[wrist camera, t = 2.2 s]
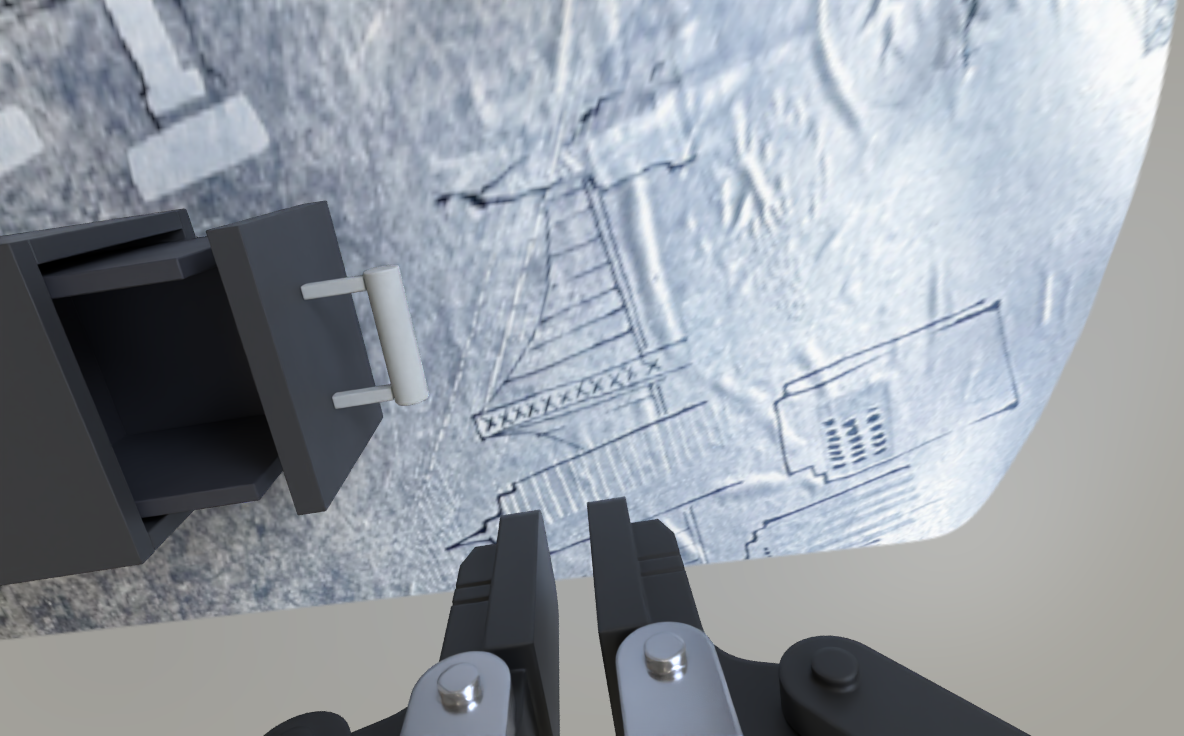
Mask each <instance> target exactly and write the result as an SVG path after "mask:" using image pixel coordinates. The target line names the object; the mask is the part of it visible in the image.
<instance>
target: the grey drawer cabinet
mask: <svg viewBox="0 0 1184 736" xmlns="http://www.w3.org/2000/svg"><path fill="white" fill-rule="evenodd" d="M192 238H196V237H195V234H194V231H193V228H192V225H191V222H190V219H189V216H188V213H187V210H186V209H178V210H171V211H165V212H158V213H151V214H145V215H138V216H132V217H125V218H118V219H112V220H105V221H99V222H92V223H85V224H79V225H72V226H65V227H59V228H52V229H46V230H39V231H32V232H26V233H19V234H12V235H6V236H0V586H2V585H8V584H15V583H22V582H28V581H35V580H41V579H48V578H54V577H61V576H67V575H74V574H80V573H87V572H94V571H100V570H107V569H113V568H120V567H126V566H133V565H139V564H143V563H144V562H145V561H146V560H147V559H148V558H149V557H150V556H151V555H152V554H153V553H154V552H155V550H156V549H157V548H158V547H159V546H160V545H161V544H162V543H163V542H164V541H165V540H166V539H167V538H168V537H169V536H170V535H171V534H172V533H173V532H174V531H175V529H176V528H177V527H178V526H179V525H180V524H181V523H182V522H183V521H184V520H185V519H186V518H187V517H188V516H189V515H190V514H191V513H192V512H193V511H194V510H191V511H185V512H178V513H171V514H165V515H158V516H152V517H145V518H141V516H140V514H139V511H138V509H137V507H136V504H135V502H134V499H133V497H132V494H131V492H130V489H129V487H128V485H127V482H126V480H125V477H124V475H123V472H122V470H121V467H120V465H119V463H118V460H117V458H116V455H115V453H114V450H113V448H112V446H111V443H110V441H109V438H108V436H107V433H106V431H105V428H104V426H103V424H102V421H101V419H100V416H99V414H98V411H97V409H96V406H95V404H94V402H93V399H92V397H91V394H90V392H89V389H88V387H87V384H86V382H85V380H84V377H83V375H82V372H81V370H80V367H79V365H78V363H77V360H76V358H75V355H74V353H73V350H72V348H71V345H70V343H69V341H68V338H67V336H66V333H65V331H64V328H63V326H62V323H61V321H60V319H59V316H58V314H57V311H56V309H55V306H54V304H53V302H52V299H51V297H50V294H49V292H48V289H47V287H46V284H45V282H44V280H43V277H42V275H41V272H40V270H39V267H38V265H39V264H43V263H47V262H51V261H55V260H59V259H63V258H67V257H73V256H80V255H86V254H93V253H100V252H106V251H113V250H120V249H126V248H133V247H139V246H146V245H153V244H159V243H166V242H172V241H179V240H186V239H192Z"/></svg>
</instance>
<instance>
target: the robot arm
mask: <svg viewBox="0 0 1184 736" xmlns="http://www.w3.org/2000/svg"><path fill="white" fill-rule="evenodd" d="M587 509H588V521H589V532H590V543H591V554H592V566H593V577H594V588H595V599H596V610H597V621H598V633H599V639H600V645H601V651H602V657H603V662H604V668H605V674H606V679H607V686H608V692H609V697H610V703H611V709H612V715H613V721H614V726H615V732H616V736H1031V735H1029V734H1027V733H1025V732H1023V731H1021V730H1020V729H1018V728H1016V727H1014V726H1012V725H1011V724H1009V723H1007V722H1005V721H1003V720H1001V719H1000V718H998V717H996V716H994V715H992V714H990V713H989V712H987V711H985V710H983V709H981V708H979V707H977V706H976V705H974V704H972V703H970V702H968V701H966V700H965V699H963V698H961V697H959V696H957V695H956V694H954V693H952V692H950V691H948V690H946V689H945V688H942V687H941V686H939V685H937V684H936V683H934V682H932V681H930V680H928V679H926V678H924V677H922V676H921V675H919V674H917V673H915V672H913V671H912V670H910V669H908V668H906V667H904V666H903V665H901V664H899V663H897V662H895V661H893V660H892V659H890V658H888V657H886V656H884V655H882V654H881V653H879V652H877V651H875V650H873V649H871V648H870V647H868V646H866V645H864V644H862V643H860V642H857V641H854V640H851V639H848V638H844V637H838V636H816V637H810V638H807V639H803V640H802V641H799V642H797V643H795V644H794V645H792V646H791V647H790V648H789V649H788V650H787V651H786V652H785V653H784V655H783V656H782V658H781V660H780V663H779V664H776V663H767V662H757V661H750V660H745V659H741V658H738V657H735V656H733V655H730V654H728V653H726V652H724V651H723V650H721V649H719V648H718V647H717V646H715V645H714V644H713V642H712V641H711V640H710V638H709V637H708V636H707V635H706V634H705V633H704V630H703V628H702V625H701V621H700V618H699V615H698V611H697V608H696V605H695V601H694V598H693V595H692V591H691V588H690V585H689V582H688V578H687V575H686V571H685V569H684V565H683V561H682V558H681V555H680V552H679V548H678V545H677V541H676V538H675V535H674V533H673V532H672V531H671V530H670V529H669V528H668V527H666V526H665V525H664V524H663V523H662V522H661V521H660V520H658V519H655V520H648V521H642V522H635V523H630V518H629V513H628V508H627V503H626V498H625V497H619V498H613V499H606V500H600V501H593V502H587ZM452 603H453V606H451V610H450V614H449V619H448V623H447V628H446V633H445V637H444V642H443V647H442V651H441V656H440V660H439V662H438V663H437V664H435V665H434V666H432V667H431V668H430V669H428V670H427V671H426V672H425V673H424V674H423V675H422V676H421V677H420V679H419V680H418V681H417V683H416V684H415V686H414V688H413V690H412V693H411V696H410V700H409V704H408V707H406V708H405V709H403V710H401V711H400V712H398V713H396V714H394V715H392V716H390V717H388V718H386V719H383V720H381V721H379V722H376V723H374V724H371V725H369V726H367V727H364V728H362V729H359V730H357V731H354V732H352V733H351V731H350V728H349V726H348V724H347V722H346V721H345V720H344V718H342V717H341V716H339V715H338V714H335V713H332V712H326V711H317V712H310V713H305V714H302V715H299V716H296V717H293V718H291V719H289V720H287V721H285V722H283V723H281V724H279V725H278V726H276V727H275V728H273V729H271V730H270V731H269V732H267V733H266V734H265V735H264V736H560V719H559V718H560V715H559V613H558V600H557V592H556V585H555V579H554V574H553V569H552V563H551V558H550V553H549V547H548V542H547V537H546V532H545V526H544V521H543V517H542V513H541V511H540V510H534V511H528V512H521V513H515V514H508V515H502V516H501V517H500V523H499V530H498V537H497V544H491V545H485V546H478V547H475V548H474V549H473V550H472V552H471V553H470V554H469V555H468V557H467V558H466V559H465V560H464V562H463V563H462V564H461V565H460V569H459V573H458V578H457V582H456V589H455V592H454V596H453V601H452Z"/></svg>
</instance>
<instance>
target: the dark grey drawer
mask: <svg viewBox="0 0 1184 736" xmlns="http://www.w3.org/2000/svg"><path fill="white" fill-rule="evenodd" d="M206 233H207V236H205V237H199V238H192V239H186V240H179V241H172V242H166V243H159V244H153V245H146V246H139V247H133V248H126V249H120V250H113V251H106V252H100V253H93V254H86V255H80V256H73V257H67V258H63V259H59V260H55V261H51V262H47V263H43V264H39V265H38V267H39V270H40V272H41V275H42V277H43V280H44V282H45V284H46V287H47V289H48V292H49V294H50V297H51V299H52V302H53V304H54V306H55V309H56V311H57V314H58V316H59V319H60V321H61V323H62V326H63V328H64V331H65V333H66V336H67V338H68V341H69V343H70V345H71V348H72V350H73V353H74V355H75V358H76V360H77V363H78V365H79V367H80V370H81V372H82V375H83V377H84V380H85V382H86V384H87V387H88V389H89V392H90V394H91V397H92V399H93V402H94V404H95V406H96V409H97V411H98V414H99V416H100V419H101V421H102V424H103V426H104V428H105V431H106V433H107V436H108V438H109V441H110V443H111V446H112V448H113V450H114V453H115V455H116V458H117V460H118V463H119V465H120V467H121V470H122V472H123V475H124V477H125V480H126V482H127V485H128V487H129V489H130V492H131V494H132V497H133V499H134V502H135V504H136V507H137V509H138V511H139V514H140V516H141V518H145V517H152V516H158V515H165V514H171V513H178V512H185V511H191V510H198V509H204V508H211V507H217V506H224V505H230V504H237V503H244V502H250V501H257V500H260V499H261V497H262V496H263V495H264V494H265V492H266V491H267V490H268V489H269V488H270V486H271V485H272V484H273V483H274V481H275V480H276V479H277V478H278V476H279V475H280V474H281V473H282V471H284V474H285V477H286V481H287V484H288V487H289V490H290V493H291V496H292V499H293V502H294V505H295V508H296V511H297V515H303V514H310V513H316V512H323V511H326V510H327V509H328V507H329V506H330V504H331V502H332V501H333V499H334V497H335V496H336V494H337V492H338V491H339V489H340V487H341V486H342V484H343V483H344V481H345V479H346V478H347V476H348V474H349V473H350V471H351V469H352V468H353V466H354V464H355V463H356V461H357V460H358V458H359V456H360V455H361V453H362V451H363V450H364V448H365V446H366V445H367V443H368V441H369V440H370V438H371V437H372V435H373V433H374V432H375V430H376V428H377V427H378V425H379V423H380V422H381V420H382V418H383V413H382V410H381V406H380V402H384V401H391V400H394V398H395V402H396V403H397V404H398V405H402V406H405V405H413V404H417V403H420V402H422V401H424V400H426V399H427V398H428V397H429V391H428V387H427V382H426V378H425V374H424V370H423V366H422V361H421V357H420V353H419V349H418V344H417V340H416V336H415V332H414V327H413V323H412V319H411V315H410V311H409V306H408V302H407V298H406V294H405V289H404V285H403V281H402V277H401V272H400V268H399V266H398V265H385V266H379V267H375V268H371V269H368V270H366V271H364V272H363V275H360V276H354V277H347V276H346V273H345V269H344V265H343V261H342V257H341V254H340V250H339V246H338V242H337V238H336V235H335V231H334V227H333V223H332V219H331V216H330V212H329V208H328V204H327V201H320V202H314V203H307V204H302V205H298V206H294V207H291V208H287V209H283V210H280V211H276V212H272V213H269V214H265V215H261V216H257V217H254V218H250V219H246V220H243V221H239V222H235V223H232V224H228V225H224V226H221V227H217V228H213V229H210V230H207V231H206ZM365 290H367V292H368V296H369V300H370V304H371V307H372V311H373V315H374V319H375V323H376V327H377V331H378V335H379V339H380V343H381V347H382V351H383V355H384V359H385V362H386V366H387V370H388V374H389V378H390V382H391V384H390V385H383V386H376V387H375V383H374V379H373V375H372V372H371V368H370V364H369V360H368V356H367V353H366V349H365V345H364V341H363V337H362V334H361V330H360V326H359V322H358V318H357V315H356V311H355V307H354V303H353V299H352V295H351V293H354V292H361V291H365Z"/></svg>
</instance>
